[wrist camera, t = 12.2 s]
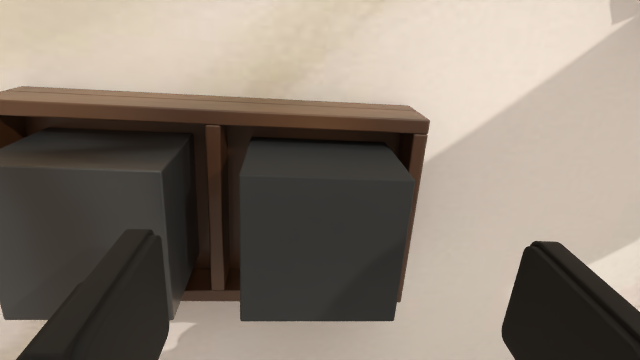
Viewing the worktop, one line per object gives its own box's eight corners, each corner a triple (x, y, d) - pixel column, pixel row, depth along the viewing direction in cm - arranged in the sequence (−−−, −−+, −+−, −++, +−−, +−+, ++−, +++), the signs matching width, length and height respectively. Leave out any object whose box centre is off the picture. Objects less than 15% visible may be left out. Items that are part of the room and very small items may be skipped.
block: (385, 141, 15) (416, 180, 12) (371, 256, 17) (394, 321, 13) (250, 136, 15) (238, 174, 11) (251, 254, 17) (240, 322, 13)
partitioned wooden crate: (409, 105, 16) (460, 140, 11) (386, 267, 19) (419, 349, 14) (21, 86, 15) (-103, 116, 10) (56, 263, 17) (-30, 351, 13)
